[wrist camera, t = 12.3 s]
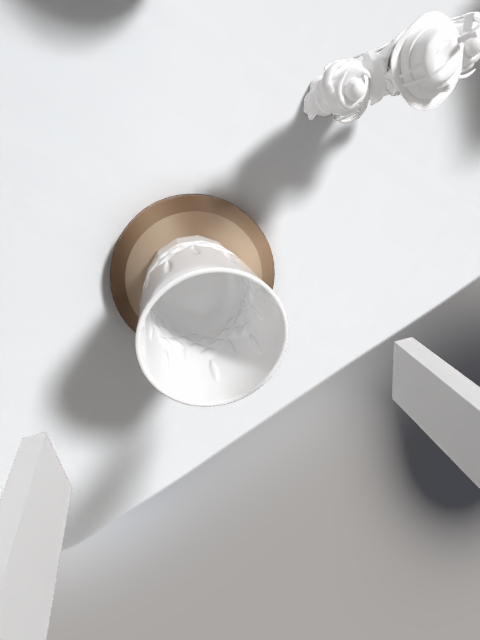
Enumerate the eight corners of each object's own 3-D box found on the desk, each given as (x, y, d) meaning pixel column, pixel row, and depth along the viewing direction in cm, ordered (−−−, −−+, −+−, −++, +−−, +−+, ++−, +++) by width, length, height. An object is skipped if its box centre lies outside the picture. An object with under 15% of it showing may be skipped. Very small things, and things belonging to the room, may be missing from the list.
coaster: (135, 361, 32) (134, 369, 31) (89, 210, 27) (87, 214, 26) (277, 327, 34) (282, 334, 33) (260, 179, 29) (265, 181, 28)
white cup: (258, 307, 31) (304, 374, 23) (163, 344, 31) (171, 428, 22) (226, 209, 28) (265, 243, 19) (118, 250, 27) (106, 305, 18)
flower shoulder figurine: (392, 32, 27) (557, -38, 16) (400, 96, 29) (553, 71, 18) (266, 78, 26) (351, 38, 16) (282, 141, 28) (368, 143, 17)
